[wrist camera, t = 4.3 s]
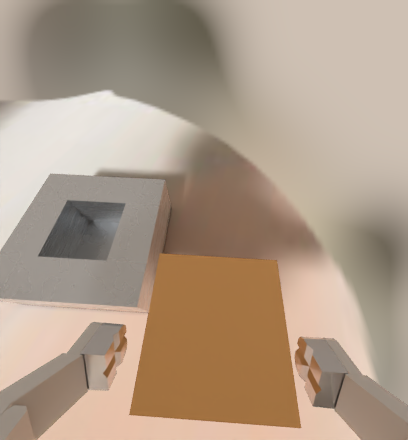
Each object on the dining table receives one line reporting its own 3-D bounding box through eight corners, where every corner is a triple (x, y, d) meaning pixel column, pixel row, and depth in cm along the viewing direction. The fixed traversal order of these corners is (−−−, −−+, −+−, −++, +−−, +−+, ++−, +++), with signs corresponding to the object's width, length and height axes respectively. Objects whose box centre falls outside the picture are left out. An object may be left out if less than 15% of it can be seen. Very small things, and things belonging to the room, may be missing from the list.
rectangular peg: (184, 351, 16) (129, 414, 4) (188, 306, 18) (159, 253, 6) (225, 354, 16) (300, 427, 4) (225, 308, 18) (277, 260, 6)
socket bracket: (25, 304, 18) (-30, 296, 13) (76, 201, 24) (50, 173, 20) (152, 313, 17) (136, 307, 13) (171, 206, 23) (164, 179, 19)
